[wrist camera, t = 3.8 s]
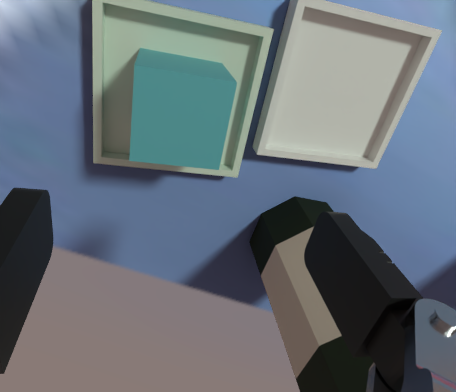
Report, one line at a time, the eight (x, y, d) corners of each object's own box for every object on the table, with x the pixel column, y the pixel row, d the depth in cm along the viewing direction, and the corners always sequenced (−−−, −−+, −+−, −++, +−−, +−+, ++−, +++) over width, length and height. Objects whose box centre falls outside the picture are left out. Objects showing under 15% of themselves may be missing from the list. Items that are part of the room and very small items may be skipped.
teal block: (222, 63, 21) (237, 82, 17) (208, 137, 23) (218, 170, 19) (140, 47, 19) (134, 64, 15) (135, 127, 22) (129, 160, 18)
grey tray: (427, 28, 22) (442, 30, 21) (366, 160, 27) (376, 168, 26) (291, -7, 20) (299, -6, 19) (252, 146, 25) (256, 154, 24)
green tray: (267, 26, 20) (273, 29, 19) (234, 168, 25) (237, 177, 24) (96, -12, 18) (92, -11, 17) (96, 154, 23) (93, 163, 22)
